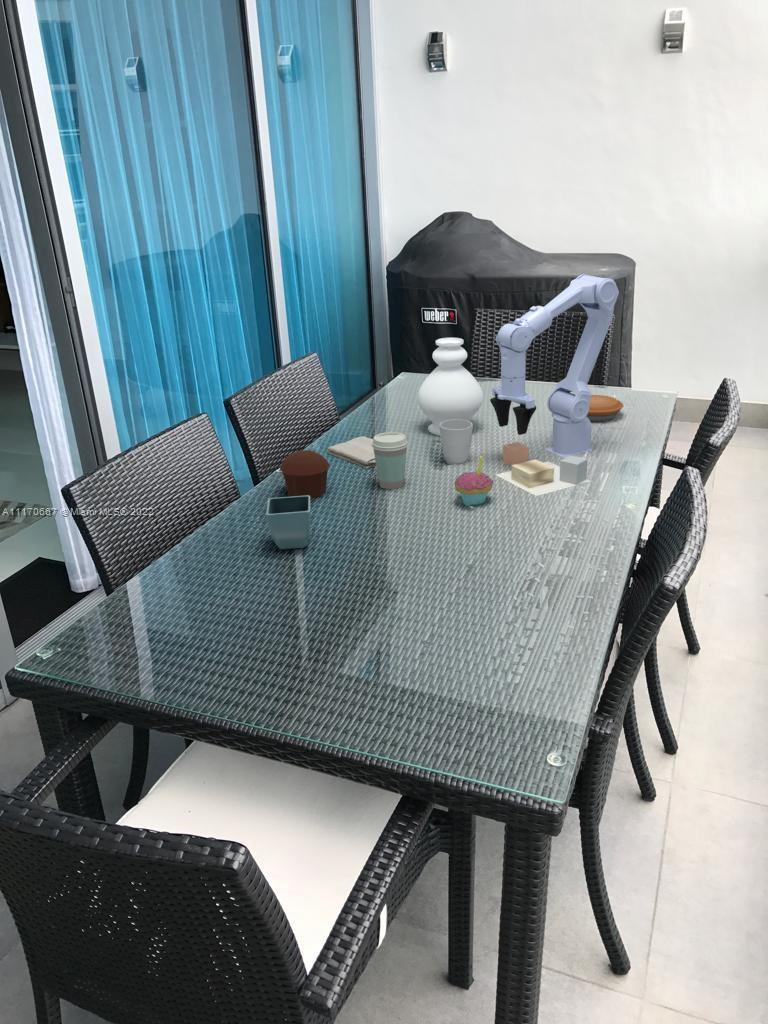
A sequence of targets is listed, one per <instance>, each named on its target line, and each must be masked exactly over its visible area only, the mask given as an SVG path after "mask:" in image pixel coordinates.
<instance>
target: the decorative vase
mask: <svg viewBox="0 0 768 1024" xmlns="http://www.w3.org/2000/svg"><path fill="white" fill-rule="evenodd" d="M435 345H436V346H438V347H437V348H436V349H435V350H434V351H433V352H432V355H431V356H432V359H433V362H435V363H436V364H437V365H438V366H436V368H434V369H433V370H432V371H431V372H430V373H429V374H428V375H427V377H426V378H425V380H424V381H423V383H422V384H421V385H420V388H419V391H418V395H417V396H418V397H417V402H418V405H419V408H420V410H421V411H422V412H423V413H424V415H425V416H426V417H427V418H428V419H429V420H430V422H431V424H429V425H428V427H427V428H428V432H429V433H430V432H431V435H436V436H439V435H440V423H441V422H443V421H447V420H454V419H460V420H467V421H470V422H471V420H472V419H473V418H474V417H475V416H476V414H477V413H478V411H479V410H480V408H481V407H482V405H483V404H482V403H483V397H484V396H483V395H484V394H483V391H482V390H483V389H482V388H481V386H480V384H479V382H478V381H477V380H476V377H474V376H473V374H472V373H471V372H470V371H469V370H468V369H466V368H465V367H464V365H462V364H463V363H464V362H465V361H466V360H467V358H468V352H467V351H466V349H465V348H464V347H462V345H464V339H462V338H461V337H460V338H459V337H442V338H438V339H436V340H435ZM472 431H474V425H473V424H472ZM440 437H441V435H440Z"/></svg>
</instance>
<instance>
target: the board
mask: <svg viewBox="0 0 768 1024" xmlns="http://www.w3.org/2000/svg"><path fill="white" fill-rule="evenodd" d="M543 463H544V464H547V465H549V466H551V467H553V468H554V482H552V483H548V484H544V485H540V486H537V487H533V488H528V487H526V486H524V485H522V484H520V483H518V482H516V481H514V480H512V479H511V473H512V470H509V471H505V472H501V473H497V474H495V476H496V477H499V478H500V479H502V480H505V481H506V482H508V483H509V484H512V485H514V486H516V487H518V488H520V489H522V490H524V491H526V492H528V493H529V494H531V495H533V496H535V497H538V496H543V495H546V494H550V493H553V492H557V491H560V490H563V489H568V488H572V487H575V486H580V485H583V484H586V483H590V482H591V479H588V478H586V479H585V480H584V481H582V482H580V483H579V484H577V485H575V484H571V483H567V482H563V481H560V465H558V464H555V463H552V462H551V461H545V462H543Z"/></svg>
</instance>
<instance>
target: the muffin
mask: <svg viewBox="0 0 768 1024" xmlns="http://www.w3.org/2000/svg"><path fill="white" fill-rule="evenodd" d="M330 467H331V464H330V463H329V462H328V460H327V459H326V458H325V457H324V456H323V455H322V454H321V453H318V452H316V451H314V450H307V449H305V450H303V449H302V450H297V451H294V452H292V453H290V454H288V455H287V456H285V458H284V459H283V461H282V463H281V465H280V467H279V470H280V471H281V473H282V475H283V478H284V482H285V483H284V484H285V486H286V491H287V495H289V497H293V496H306V495H309V496H310V501H311V500H313V499H317V498H321V497H322V496H323V495H324V494H326V491H327V481H328V470H329V468H330Z"/></svg>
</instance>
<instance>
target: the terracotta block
mask: <svg viewBox="0 0 768 1024" xmlns="http://www.w3.org/2000/svg"><path fill="white" fill-rule="evenodd" d="M529 448H530V446H528V445H526V444H523V443H521V442H519V441H516V442H511V443H507V444H503V446H502V462H503V463H504V464H507V465H508V466H510V467H512V465H515V464H519V463H523V462H527V461H530V460H529V459H530V458H529V453H530V450H529Z"/></svg>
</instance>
